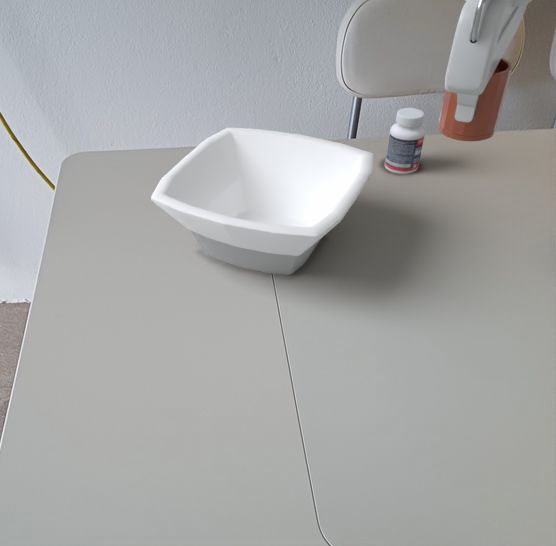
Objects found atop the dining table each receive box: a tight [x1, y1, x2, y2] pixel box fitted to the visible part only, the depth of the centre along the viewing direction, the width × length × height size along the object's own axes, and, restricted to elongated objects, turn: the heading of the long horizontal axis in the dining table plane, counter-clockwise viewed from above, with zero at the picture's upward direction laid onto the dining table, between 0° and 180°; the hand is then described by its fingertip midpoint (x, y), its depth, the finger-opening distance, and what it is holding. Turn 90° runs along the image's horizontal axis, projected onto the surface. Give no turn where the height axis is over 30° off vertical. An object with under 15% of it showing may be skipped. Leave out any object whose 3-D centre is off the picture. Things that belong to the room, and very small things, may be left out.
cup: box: [437, 57, 514, 142], centre depth 69 cm, size 6×6×7 cm
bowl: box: [150, 127, 375, 276], centre depth 86 cm, size 24×25×10 cm
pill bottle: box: [384, 107, 426, 175], centre depth 100 cm, size 5×5×9 cm
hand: (471, 105), depth 70 cm, fingers closed on cup, 6 cm apart
